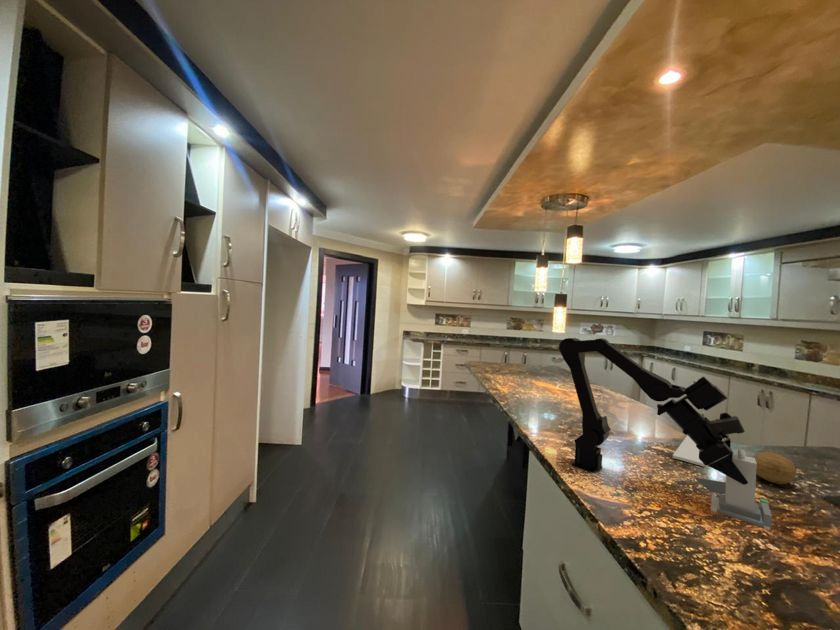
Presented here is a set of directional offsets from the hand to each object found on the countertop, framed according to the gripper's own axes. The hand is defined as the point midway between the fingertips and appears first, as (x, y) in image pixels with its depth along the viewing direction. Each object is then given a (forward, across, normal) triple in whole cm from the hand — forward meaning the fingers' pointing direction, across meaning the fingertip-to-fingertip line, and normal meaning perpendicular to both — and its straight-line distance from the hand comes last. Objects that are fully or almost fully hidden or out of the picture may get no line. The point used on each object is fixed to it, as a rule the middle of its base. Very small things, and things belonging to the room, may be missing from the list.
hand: (744, 477), depth 85 cm
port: (+5, 0, +6) cm, 8 cm away
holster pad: (+3, +14, +9) cm, 17 cm away
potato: (+12, +33, 0) cm, 35 cm away
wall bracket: (0, +43, +13) cm, 45 cm away
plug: (+5, 0, +6) cm, 8 cm away
